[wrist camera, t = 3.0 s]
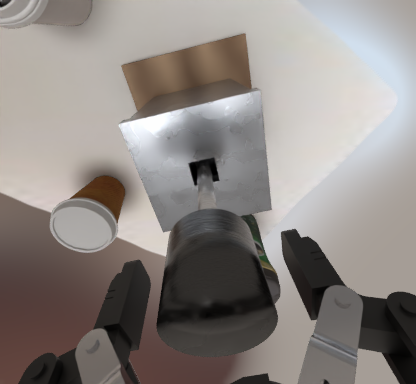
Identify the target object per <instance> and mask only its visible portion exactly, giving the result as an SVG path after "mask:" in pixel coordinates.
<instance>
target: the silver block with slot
mask: <svg viewBox="0 0 416 384" xmlns="http://www.w3.org/2000/svg"><path fill="white" fill-rule="evenodd" d="M118 125H119V127H120V130H121V132H122V134H123V137H124V139H125V142H126V144H127V146H128V149H129V151H130V154H131V156H132V158H133V161H134V163H135V166H136V168H137V170H138V173H139V175H140V178H141V180H142V182H143V185H144V187H145V190H146V192H147V194H148V197H149V199H150V202H151V204H152V207H153V209H154V211H155V214H156V216H157V219H158V221H159V223H160V226H161V228H162V231H163V232H167V231H171V230H172V228H173V227H174V225H175V224H176V223H177V222H178V221H179V220H180V219H181V218H183V217H184V216H186V215H188V214H189V213H192V212H194V211H198V188H197V179H194V176H193V172H192V169H191V165H190V163H191V162H195V161H200V160H204V159H208V158H213V157H215V162H216V166H217V171H218V174H217V175H213V176H212V179H213V186H214V192H215V199H216V206H217V209H223V210H227V211H230V212H232V213H234V214H236V215H238V216H244V215H248V214H253V213H258V212H263V211H268V210H272V208H271V197H270V187H269V176H268V165H267V155H266V144H265V133H264V122H263V112H262V101H261V90H259V89H257V88H254V89H250V88H248V87H246V86H244V85H242V84H240V83H238V82H236V81H234V80H232V79H231V78H229V79H225V80H221V81H217V82H213V83H209V84H205V85H201V86H197V87H193V88H189V89H185V90H180V91H176V92H172V93H168V94H164V95H160V96H156V97H153V98H152V99H151V100H150V101H148V102H147V103H146V104H145V105H144V106H143V107H142V108H141V109H140V110H139V111H137V112H136V113H135V114H134V115H133V116H132V117H131V118H130V119H127V120H123V121H122V122H121V123H119V124H118Z"/></svg>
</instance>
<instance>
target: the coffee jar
mask: <svg viewBox="0 0 416 384" xmlns="http://www.w3.org/2000/svg"><path fill="white" fill-rule="evenodd" d="M239 217H241V218H242V219H243V220H244V221H245V222H246V223H247V225H248V226H249V229H250V231H251V234H252V237H253V240H254V243H255V246H256V249H257V252H258V256H259V259H260V262H261V265H262V268H263V271H264V274H265V277H266V280H267V283H268V286H269V289H270V292H271V295H272V298H273V301H274V304H275V303H276V302H277V300H278V299H279V297H280V285H279V281H278V276H277V273H276V271H275V270H274V268H273V267H272V265H271V264H270V262H269V260H268V258H267V256H266V253H265V250H264V247H263V243H262V240H261V236H260V232H259V228H258V225H257V222H256V219H255V218H254V217H253V216H251V215H249V214H248V215H244V216H239Z"/></svg>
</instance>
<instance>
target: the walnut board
mask: <svg viewBox="0 0 416 384" xmlns="http://www.w3.org/2000/svg"><path fill="white" fill-rule="evenodd" d="M121 67H122V69H123V72H124V75H125V78H126V80H127V83H128V86H129V89H130V91H131V94H132V97H133V100H134V102H135V105H136V108H137V111H139V110H140V109H141V108H142V107H143V106H144V105H145V104H146V103H147V102H148V101H150V100H151V99H152V98H153V97H156V96H160V95H164V94H168V93H172V92H176V91H180V90H185V89H189V88H193V87H197V86H201V85H205V84H209V83H213V82H217V81H221V80H225V79H229V78H231V79H232V80H234V81H236V82H238V83H240V84H242V85H244V86H246V87H248V88H250V89H251V80H250V71H249V62H248V53H247V44H246V35H245V34H241V35H238V36H234V37H230V38H226V39H222V40H218V41H214V42H211V43H207V44H203V45H199V46H195V47H191V48H187V49H183V50H180V51H176V52H172V53H168V54H164V55H160V56H156V57H153V58H149V59H145V60H141V61H137V62H133V63H129V64H126V65H122V66H121Z"/></svg>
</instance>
